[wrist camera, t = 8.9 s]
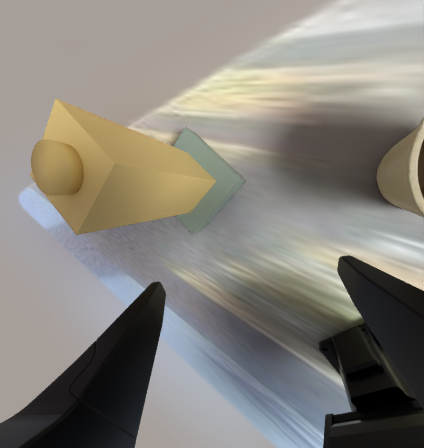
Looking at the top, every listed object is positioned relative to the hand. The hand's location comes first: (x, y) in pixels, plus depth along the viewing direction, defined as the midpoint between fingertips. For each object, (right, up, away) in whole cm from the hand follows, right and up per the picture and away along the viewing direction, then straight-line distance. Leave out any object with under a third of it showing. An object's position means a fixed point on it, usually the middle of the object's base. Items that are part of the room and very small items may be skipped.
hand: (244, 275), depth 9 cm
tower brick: (-4, +7, +11) cm, 13 cm away
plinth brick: (-3, +7, +13) cm, 15 cm away
